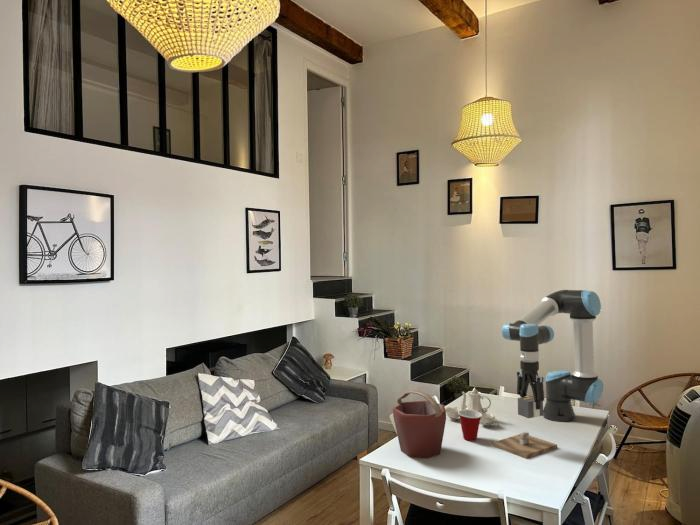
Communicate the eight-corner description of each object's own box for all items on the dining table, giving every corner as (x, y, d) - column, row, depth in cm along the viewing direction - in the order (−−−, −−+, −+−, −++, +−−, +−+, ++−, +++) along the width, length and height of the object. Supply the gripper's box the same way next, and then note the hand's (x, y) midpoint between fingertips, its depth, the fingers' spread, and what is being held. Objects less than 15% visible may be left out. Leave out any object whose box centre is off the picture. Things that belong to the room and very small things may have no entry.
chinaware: (440, 424, 269) (438, 392, 268) (453, 412, 283) (451, 381, 281) (494, 433, 254) (492, 399, 252) (505, 420, 268) (504, 388, 266)
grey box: (528, 418, 224) (528, 401, 224) (518, 414, 230) (517, 397, 230) (543, 415, 227) (542, 398, 227) (532, 411, 233) (532, 394, 233)
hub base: (522, 436, 244) (522, 423, 244) (557, 448, 229) (556, 434, 229) (492, 445, 233) (492, 432, 233) (526, 458, 218) (525, 444, 218)
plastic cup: (481, 444, 236) (480, 417, 236) (456, 441, 240) (455, 414, 239) (484, 436, 246) (483, 410, 246) (460, 433, 250) (460, 408, 250)
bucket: (386, 445, 237) (385, 389, 237) (430, 438, 245) (429, 383, 245) (412, 465, 214) (410, 403, 214) (459, 456, 222) (458, 396, 222)
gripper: (507, 357, 236) (508, 409, 236) (539, 365, 218) (540, 421, 218) (520, 355, 239) (521, 407, 239) (553, 363, 221) (554, 419, 221)
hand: (530, 414), depth 229 cm, fingers closed on grey box, 6 cm apart
